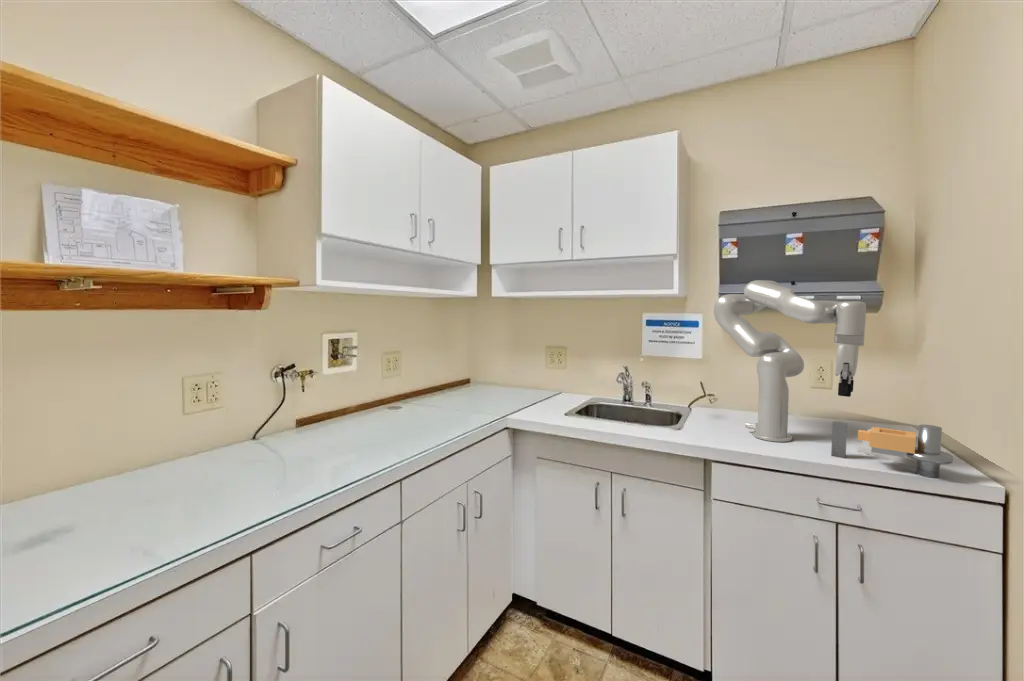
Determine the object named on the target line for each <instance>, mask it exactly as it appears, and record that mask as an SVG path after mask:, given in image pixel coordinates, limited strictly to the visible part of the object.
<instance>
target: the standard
mask: <svg viewBox="0 0 1024 681" xmlns="http://www.w3.org/2000/svg"><path fill="white" fill-rule="evenodd" d="M942 432H943V428H942V427H941V426H938V425H933V424H918V432H917V433H918V435H917V438H918V447H915V454H913V453H906V452H900V451H893V450H887V449H881V448H874V447H872V449H871V452H874V453H880V454H887V455H893V456H899V457H905V455H906V456H908V457H910V458H913V459H916V460H917V466H916V467H915V468H916V469H915V470H916V471H915V472H916V473H915V474H917V476H921V477H924V478H925V477H926V478H930V479H931V478H932V479H938V478H940V471H941V470H940V466H941V464H942V465H943V464H945V465H947V464H948V465H949V464H952V463H954V455H952V454H951V453H948V452H945V451H942V449H941V448H942Z"/></svg>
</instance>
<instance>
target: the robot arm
mask: <svg viewBox="0 0 1024 681" xmlns="http://www.w3.org/2000/svg"><path fill="white" fill-rule="evenodd" d="M765 308H770V309H773V310H775V311H779V312H780V313H781V314H783V315H784V316H786V317H789V318H791V319H793V320H797V321H799V322H804V323H807V324H810V325H811V324H812V325H816V324H817V325H818V324H819V325H820V324H823V325H825V324H835V325H834V341H833V344H834V345H835V346H837V348H836V349H837V350H836V359H835V371H834V375H835V376H836V377H837V376H839V382H838V385H837V386H838V388H837V395H838V397H839V396H840V397H848V398H850V397H851V395H852V393H853V392H854V385H855V384H854V377H855V375H856V373H857V367H858V361H859V350H860V349H859V348H860V347H864V346H865V345H864V344H865V332H866V319H867V318H866V317H867V314H866V313H867V304H866V302H863V301H856V300H855V301H852V300H850V301H848V300H847V301H846V300H845V301H836V300H815V299H813V300H812V299H810V298H805V297H801V296H798V295H796V293H795V291H794V290H793V289H792V288H790V287H786V286H782V285H781V284H780V283H779V282H778V281H774V280H765V279H764V280H763V279H762V280H761V279H760V280H759V279H757V280H752V281H749V282H748V283H747V284H746V285H745V287H744V289H743V294H742V293H741V294H740V293H737V294H736V293H733V294H732V293H729V294H724V295H721V296H720V297H718V298H717V299H716V301H715V302H714V306H713V315H714V319H715V320H716V322H717V324H718V325H719V326H720V327H721V328H722V329H723V331H725V332H726V333H727V334H728V335H729V337H730V338H732V340H733V341H734V342H735V343H736V344H737V345H738V346H739V348H741V349H742V350H743V352H744V353H746V355H748V357H752V358H758V359H757V363H756V372H757V379H758V407H757V408H758V410H757V411H758V414H757V423H756V422H755V423H751V422H745V428H747V429H748V430H753V431H752V436H753V437H754V438H756V439H760V440H764V441H768V442H779V443H784V442H791V441H792V440H793V436H792V434H790V433H788V428H789V427H788V426H789V424H788V422H789V402H790V401H789V396H790V394H789V392H790V391H789V385H788V383H787V382H788V381H787V380H786V378H791V377H797V376H799V375H801V373H803V371H804V368H805V363H804V360H803V357H802V356H801V354H799V352H797V350H796V349H795V348H793V347H792V346H791V345H790V344H789V343H788V342H787V341H786V340H785V339H784V338H783V337H782V336H780V335H779V334H777V333H775V332H772V331H771V332H770V331H759V330H758V329H756V328H755V327H754V326H753V325H752V324H751V323H750V322H749V321H748V320H746V319H745V318H743V317H742V316H749V315H753V314H754V313H758V312H759V311H761V310H762V309H765Z"/></svg>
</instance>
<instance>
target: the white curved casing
mask: <svg viewBox="0 0 1024 681" xmlns="http://www.w3.org/2000/svg"><path fill="white" fill-rule="evenodd" d="M866 431H871V428H869V429H867V430H866ZM869 446H870V441H863V440H862V442H861V444H860V445H859V446H858V448H857V451H858V453H861V452H862V454H865V453H866V455H869V456H872V455H873V456H872V457H876V456H877V457H876V458H881V459H883V460H887V459H888V461H891V460H892V462H895V461H896V462H895V463H900V464H902V463H903V464H902V465H906V464H907V466H910V465H911V466H910V467H913V468H916V467H917V460H916V459H913V458H910V457H908V456H906V455H905V457H899V456H893V455H887V454H880V453H874V452H871V449H872V447H869ZM915 447H918V436H915ZM915 466H916V467H915Z"/></svg>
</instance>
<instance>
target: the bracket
mask: <svg viewBox="0 0 1024 681" xmlns="http://www.w3.org/2000/svg"><path fill="white" fill-rule="evenodd" d="M870 429H871V431H867V430H864V429H863V430H862V429H858V430H857V440H859V441H862V442H863V441H870V446H869V447H874V448H881V449H887V450H893V451H900V452H906V453H913V454H915V437H916V431H909V430H907V431H906V430H902V429H893V428H887V427H886V428H885V427H878V426H871V428H870Z"/></svg>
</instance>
